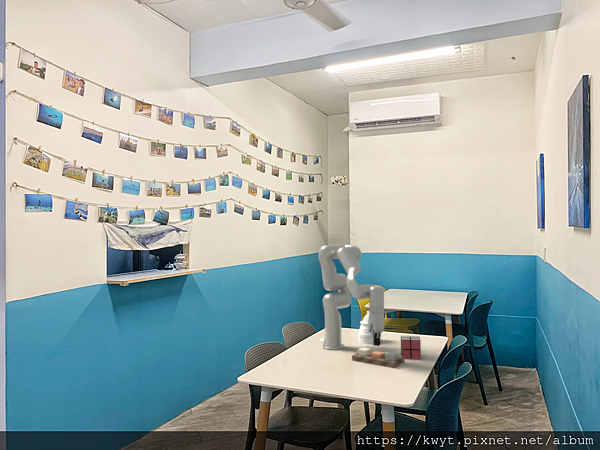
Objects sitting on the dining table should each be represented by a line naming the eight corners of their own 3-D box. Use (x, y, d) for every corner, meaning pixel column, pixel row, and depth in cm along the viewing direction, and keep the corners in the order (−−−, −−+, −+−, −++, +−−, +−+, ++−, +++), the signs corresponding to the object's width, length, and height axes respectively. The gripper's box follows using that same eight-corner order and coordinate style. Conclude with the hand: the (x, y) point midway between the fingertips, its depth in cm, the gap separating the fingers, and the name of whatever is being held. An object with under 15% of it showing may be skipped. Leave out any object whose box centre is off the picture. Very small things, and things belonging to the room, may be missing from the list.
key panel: (352, 360, 240) (351, 355, 240) (363, 355, 249) (363, 350, 249) (393, 368, 225) (393, 363, 225) (404, 362, 235) (404, 357, 235)
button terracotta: (371, 359, 237) (371, 353, 237) (375, 356, 241) (375, 351, 241) (379, 360, 234) (379, 354, 234) (384, 358, 238) (384, 352, 238)
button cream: (357, 355, 242) (357, 349, 242) (362, 353, 246) (362, 347, 246) (366, 356, 239) (366, 350, 239) (370, 354, 243) (370, 348, 243)
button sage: (385, 359, 232) (385, 353, 232) (389, 357, 236) (389, 351, 236) (394, 361, 229) (394, 355, 229) (398, 359, 233) (398, 353, 233)
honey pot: (360, 338, 288) (360, 309, 289) (381, 339, 284) (380, 310, 284) (356, 343, 276) (355, 313, 277) (377, 344, 272) (376, 314, 272)
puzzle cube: (420, 359, 239) (420, 340, 240) (401, 358, 241) (400, 339, 242) (419, 354, 249) (419, 336, 249) (401, 353, 251) (400, 335, 251)
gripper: (377, 307, 246) (377, 341, 246) (363, 311, 234) (363, 347, 234) (389, 308, 241) (390, 343, 241) (376, 313, 229) (376, 349, 230)
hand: (376, 345), depth 238 cm, fingers closed
